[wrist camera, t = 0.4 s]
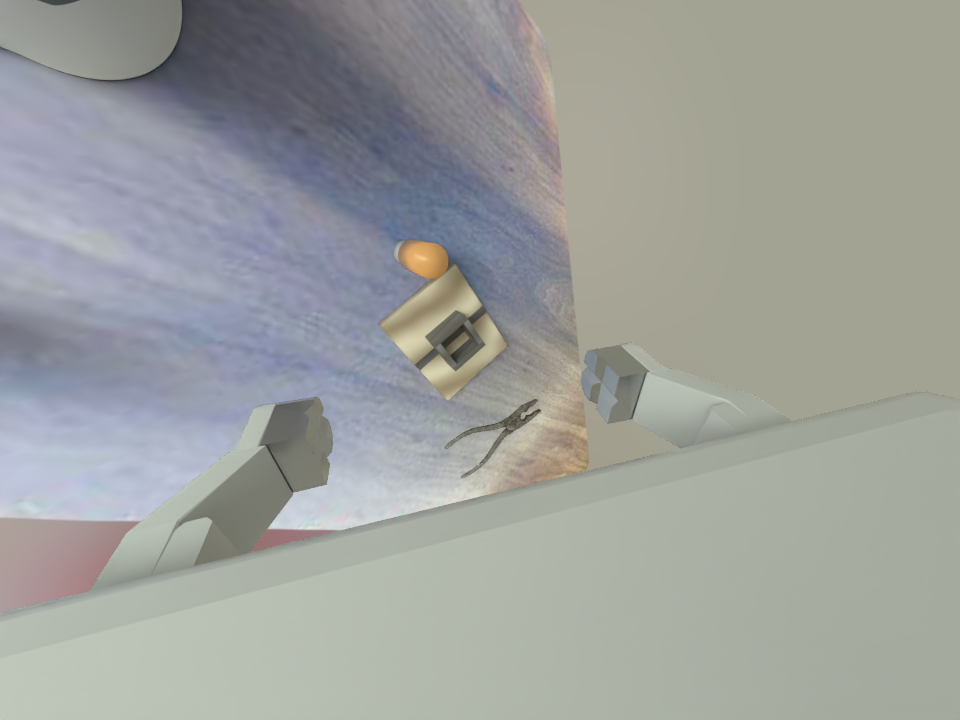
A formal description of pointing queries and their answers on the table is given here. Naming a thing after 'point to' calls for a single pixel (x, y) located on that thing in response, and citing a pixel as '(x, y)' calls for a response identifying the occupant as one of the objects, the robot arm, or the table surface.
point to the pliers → (510, 423)
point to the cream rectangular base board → (445, 332)
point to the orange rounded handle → (421, 257)
